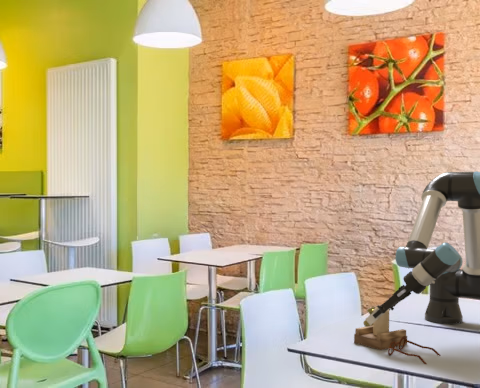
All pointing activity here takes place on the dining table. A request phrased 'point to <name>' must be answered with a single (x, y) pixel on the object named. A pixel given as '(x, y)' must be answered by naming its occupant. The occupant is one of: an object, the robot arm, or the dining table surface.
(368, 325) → the brass knob
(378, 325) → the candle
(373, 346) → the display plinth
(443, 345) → the dining table surface
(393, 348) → the glasses
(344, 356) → the dining table surface
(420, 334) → the dining table surface
